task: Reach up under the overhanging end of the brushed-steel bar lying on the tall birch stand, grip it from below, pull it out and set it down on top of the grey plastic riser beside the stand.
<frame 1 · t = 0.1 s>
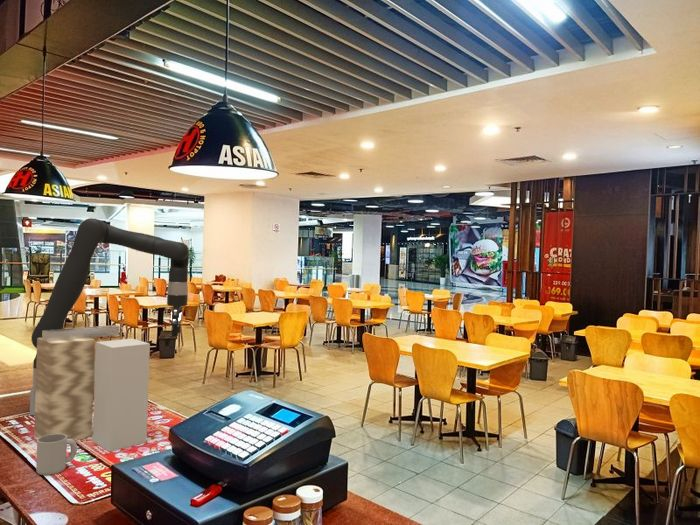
hand: (175, 334, 202), 29 cm above the counter, tool pointing down, fingers open, 8 cm apart
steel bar: (82, 337, 173), point 32 cm above the counter, touching birch stand
cup: (56, 469, 145), on the counter
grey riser: (119, 441, 167), on the counter
birch stand: (63, 435, 170), on the counter
cracker box: (86, 395, 218), on the counter
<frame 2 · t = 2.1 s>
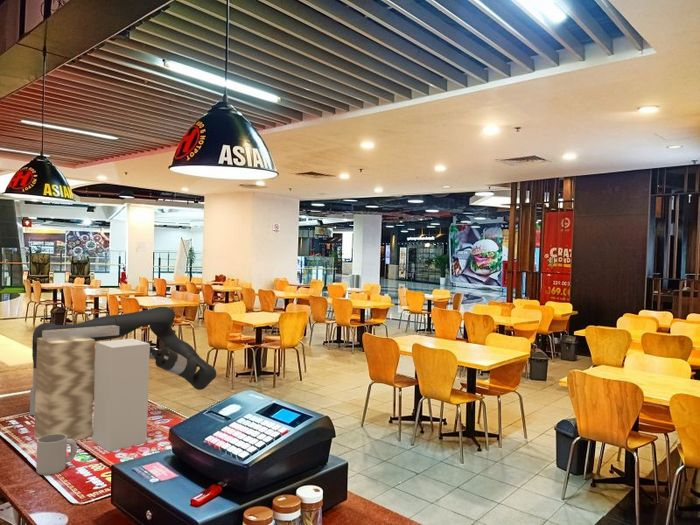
hand: (136, 344, 187), 28 cm above the counter, tool pointing upward, fingers open, 8 cm apart
nothing on the counter moved.
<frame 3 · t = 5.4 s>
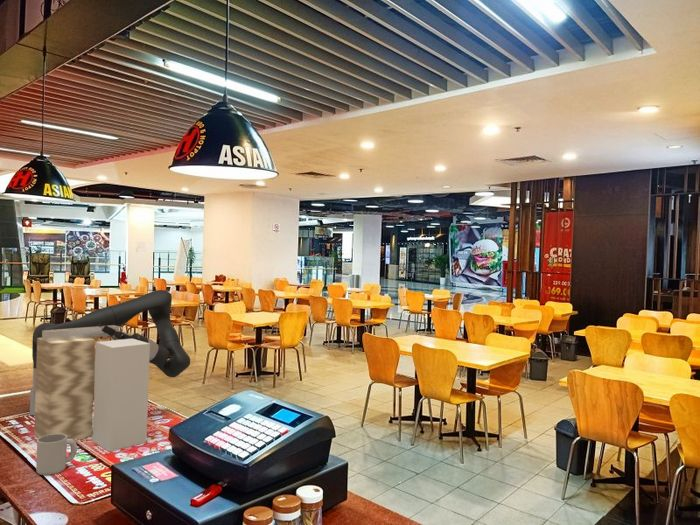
hand: (101, 327, 178), 35 cm above the counter, tool pointing upward, fingers closed on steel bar, 4 cm apart
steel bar: (82, 337, 173), point 32 cm above the counter, touching birch stand, gripper
everything else where it was.
when the fingers open (36 cm above the counter, at t = 10.2 s): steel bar stays where it is, resting on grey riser.
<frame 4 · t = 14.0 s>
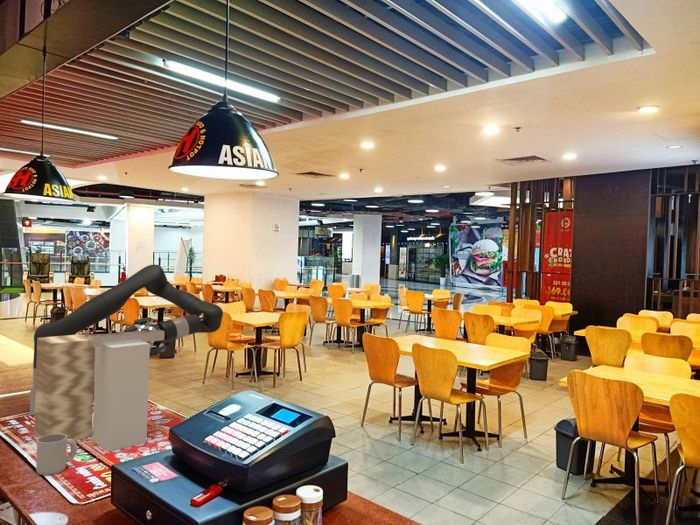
hand: (128, 342, 176), 31 cm above the counter, tool horizontal, fingers open, 8 cm apart
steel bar: (127, 342, 168), point 32 cm above the counter, touching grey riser
everything else where it was.
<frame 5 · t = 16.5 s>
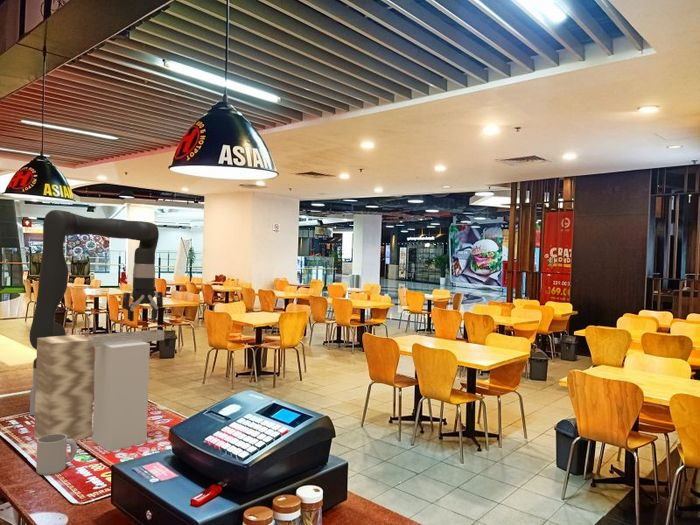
hand: (142, 320, 190), 36 cm above the counter, tool pointing down, fingers open, 8 cm apart
nothing on the counter moved.
at the end: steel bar inside the target area on the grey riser (0.8 cm from its centre), point 32.0 cm above the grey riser's base; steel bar touching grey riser; the gripper is holding nothing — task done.
